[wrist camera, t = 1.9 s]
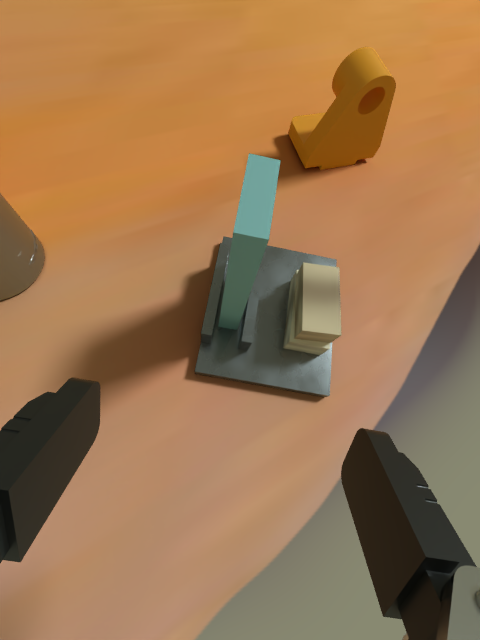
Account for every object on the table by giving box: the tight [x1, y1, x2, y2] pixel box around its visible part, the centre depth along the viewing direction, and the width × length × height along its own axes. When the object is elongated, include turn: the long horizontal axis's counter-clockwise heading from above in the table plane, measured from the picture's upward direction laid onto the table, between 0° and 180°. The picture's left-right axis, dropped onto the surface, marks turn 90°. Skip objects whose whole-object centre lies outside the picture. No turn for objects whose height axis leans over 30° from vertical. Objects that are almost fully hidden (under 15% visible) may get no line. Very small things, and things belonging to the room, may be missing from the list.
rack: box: [195, 237, 336, 397], centre depth 32 cm, size 16×14×4 cm
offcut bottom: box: [283, 270, 330, 355], centre depth 32 cm, size 8×4×2 cm, turn 171°
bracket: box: [288, 47, 396, 170], centre depth 39 cm, size 11×7×12 cm, turn 108°
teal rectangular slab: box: [218, 153, 281, 330], centre depth 26 cm, size 6×2×16 cm, turn 171°
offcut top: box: [294, 262, 341, 343], centre depth 30 cm, size 7×4×2 cm, turn 175°
